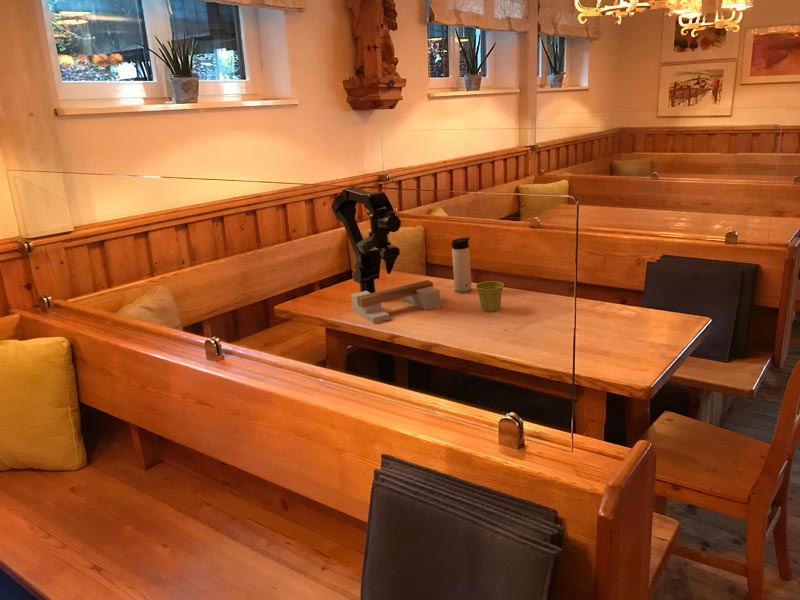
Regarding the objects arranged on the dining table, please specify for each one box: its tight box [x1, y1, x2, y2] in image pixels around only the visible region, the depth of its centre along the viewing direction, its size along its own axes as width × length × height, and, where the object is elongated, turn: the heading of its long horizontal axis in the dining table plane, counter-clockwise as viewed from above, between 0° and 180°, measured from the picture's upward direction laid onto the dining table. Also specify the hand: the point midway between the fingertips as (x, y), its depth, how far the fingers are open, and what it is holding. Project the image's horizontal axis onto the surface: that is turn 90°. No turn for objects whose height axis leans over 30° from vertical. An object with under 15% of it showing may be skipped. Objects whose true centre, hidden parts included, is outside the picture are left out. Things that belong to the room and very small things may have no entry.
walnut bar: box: [357, 279, 434, 307], centre depth 238 cm, size 4×28×3 cm, turn 117°
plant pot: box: [475, 280, 505, 313], centre depth 228 cm, size 9×9×9 cm
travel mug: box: [451, 237, 473, 294], centre depth 248 cm, size 6×7×20 cm
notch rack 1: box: [350, 291, 390, 324], centre depth 234 cm, size 18×6×6 cm, turn 26°
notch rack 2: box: [402, 286, 442, 311], centre depth 242 cm, size 18×6×6 cm, turn 26°
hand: (383, 271), depth 242 cm, fingers open, 9 cm apart
